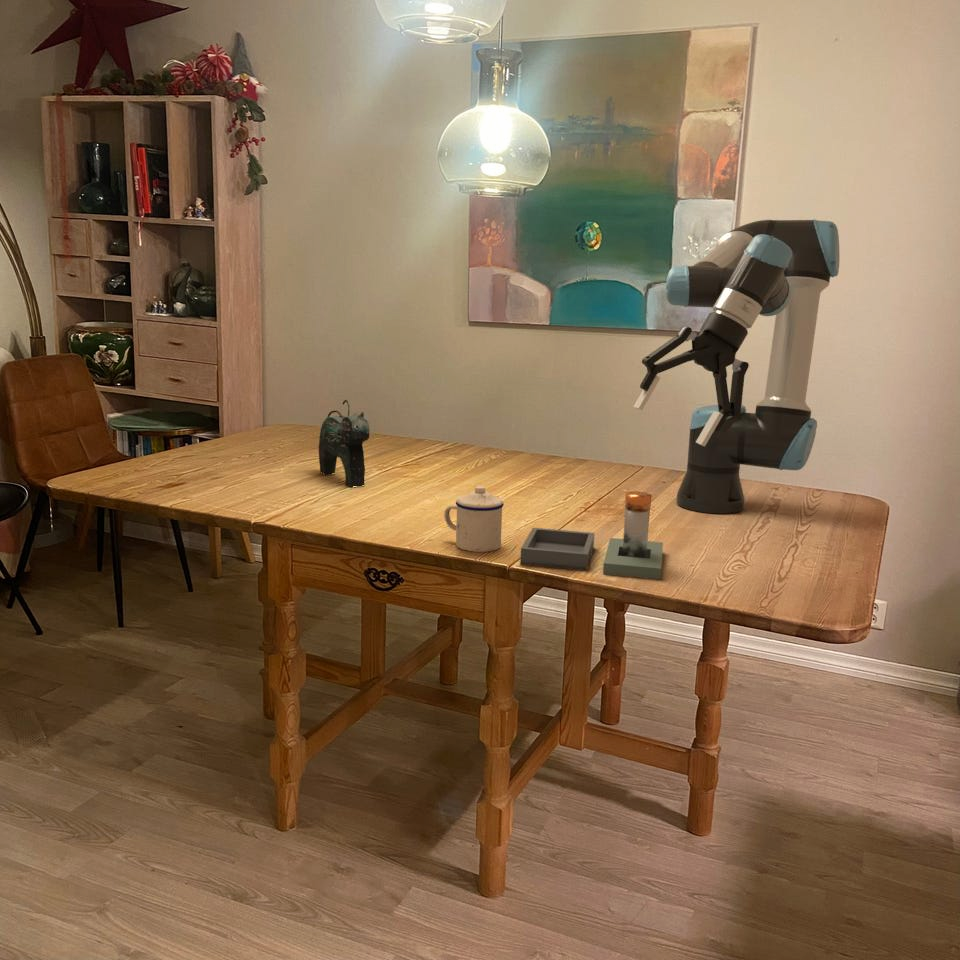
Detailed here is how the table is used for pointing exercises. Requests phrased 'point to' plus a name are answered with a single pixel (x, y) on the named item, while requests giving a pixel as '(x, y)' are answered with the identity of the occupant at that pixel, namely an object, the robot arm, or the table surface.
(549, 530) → the tray
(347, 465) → the ceramic cat
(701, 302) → the robot arm
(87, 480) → the table surface
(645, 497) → the pepper shaker
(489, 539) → the teacup with lid
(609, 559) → the green holder base
